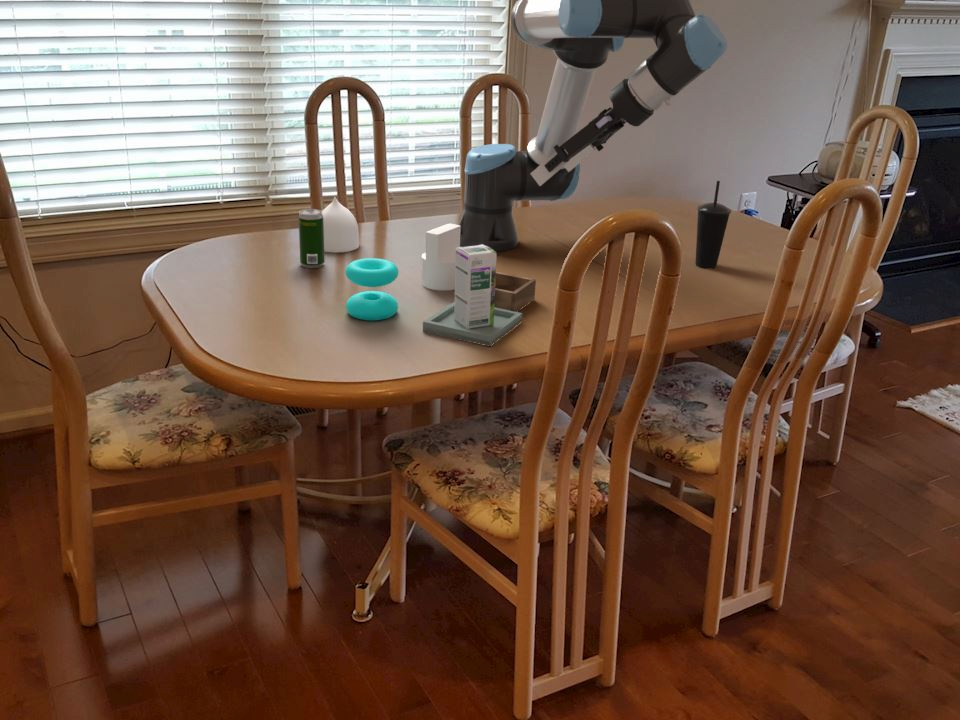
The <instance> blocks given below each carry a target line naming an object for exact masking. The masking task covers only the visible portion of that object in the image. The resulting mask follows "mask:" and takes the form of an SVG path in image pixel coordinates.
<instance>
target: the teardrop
mask: <svg viewBox="0 0 960 720" xmlns="http://www.w3.org/2000/svg"><path fill="white" fill-rule="evenodd" d="M321 211H322V214H323V221H324V253H336V254H337V253H348V252H351V251H354V250H357V249H358V248H359V247H360V233H359V224H358V222H357V218H356V217H355V216H354V214H353V213H352V212H351V211H350V210H349V209H348V208H347V207H345V206H344V205H342V203H340V202H339V200H338V199H337V197H336V196H334V197H333V200H332V201H331V202H330V203H329V205H327V206H326V207H325V208H324V209H323V210H321Z"/></svg>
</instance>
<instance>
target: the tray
mask: <svg viewBox="0 0 960 720" xmlns="http://www.w3.org/2000/svg"><path fill="white" fill-rule="evenodd" d="M454 306H455V301H453V302H452V303H450V304H448V305H447V306H445V307H444V308H442V309H440V310H439V311H438V312H435V313H434V314H432V315H431V316H429V317H428V318H426V319H424V320H423V321H422V332H424V333H428V334H432V335H437V336H441V337H445V338H449V337H450V339H453V338H455V339H454V340H457V339H461V340H460V341H462V340H465V341H464V342H466V341H471V342H476V343H480V344H485V345H489V346H491V345H492V344H493V343H495V342H496V341H497V340H498V339H500V338H501V337H502V336H504V335H505V334H506V333H508V332H509V331H510V330H512V329H513V328H514V327H515V326H516V325H518V324H519V323H520V322H521V321H522V322H523V312H520V311H519V312H514V311H509V310H505V309H500V308H495V307H494V324H493V325H491V326H483V327H476V328H471V329H466V328H465V327H463V326H462V325H461V324H459V323H458V322H457V321H456V320H455V319H454ZM518 326H519V325H518ZM513 330H514V329H513ZM513 330H512V331H513ZM509 333H510V332H509ZM509 333H508V334H509ZM504 337H505V336H504ZM500 340H501V339H500ZM496 343H497V342H496ZM496 343H495V344H496ZM491 347H492V346H491Z"/></svg>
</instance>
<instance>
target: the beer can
mask: <svg viewBox="0 0 960 720" xmlns="http://www.w3.org/2000/svg"><path fill="white" fill-rule="evenodd" d="M322 211H323V210H321V209H316V208H308V209H307V208H305V209H302V210H299V211H298V212H299V214H298V237H299V263H300V264H301V267H304V268H306V269H318V268H321V267H323V266H324V264H325V261H326V260H325V259H326V258H325V252H324V221H323V214H322Z"/></svg>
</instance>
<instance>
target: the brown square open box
mask: <svg viewBox="0 0 960 720" xmlns="http://www.w3.org/2000/svg"><path fill="white" fill-rule="evenodd" d="M536 282H537V279H534V278H530V277H525V276H519V275H514V274H510V273H505V272H500V271H499V272H498V271H496V280H495V304H494V307H495V308H500V309H505V310H509V311H514V312H517V311H519V310H520V309H521V308H522V307H524V306H525V305H527V304H528V303H529V302H531V301H532V300H534V301H535V299H536V298H535V295H536V284H537V283H536ZM531 303H532V302H531ZM527 306H528V305H527ZM519 312H520V311H519Z"/></svg>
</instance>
